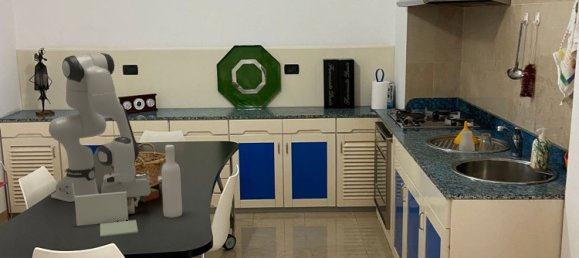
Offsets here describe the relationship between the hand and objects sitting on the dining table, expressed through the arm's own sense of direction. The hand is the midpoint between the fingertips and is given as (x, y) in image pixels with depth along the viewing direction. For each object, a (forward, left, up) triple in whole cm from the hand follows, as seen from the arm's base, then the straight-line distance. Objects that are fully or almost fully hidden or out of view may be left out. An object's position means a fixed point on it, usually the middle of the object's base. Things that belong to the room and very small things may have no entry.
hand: (126, 207), depth 249 cm
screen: (-2, -13, -3) cm, 13 cm away
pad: (+9, -17, -3) cm, 19 cm away
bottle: (+19, +6, -3) cm, 20 cm away
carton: (-10, +24, -4) cm, 26 cm away
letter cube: (0, 0, -2) cm, 2 cm away
